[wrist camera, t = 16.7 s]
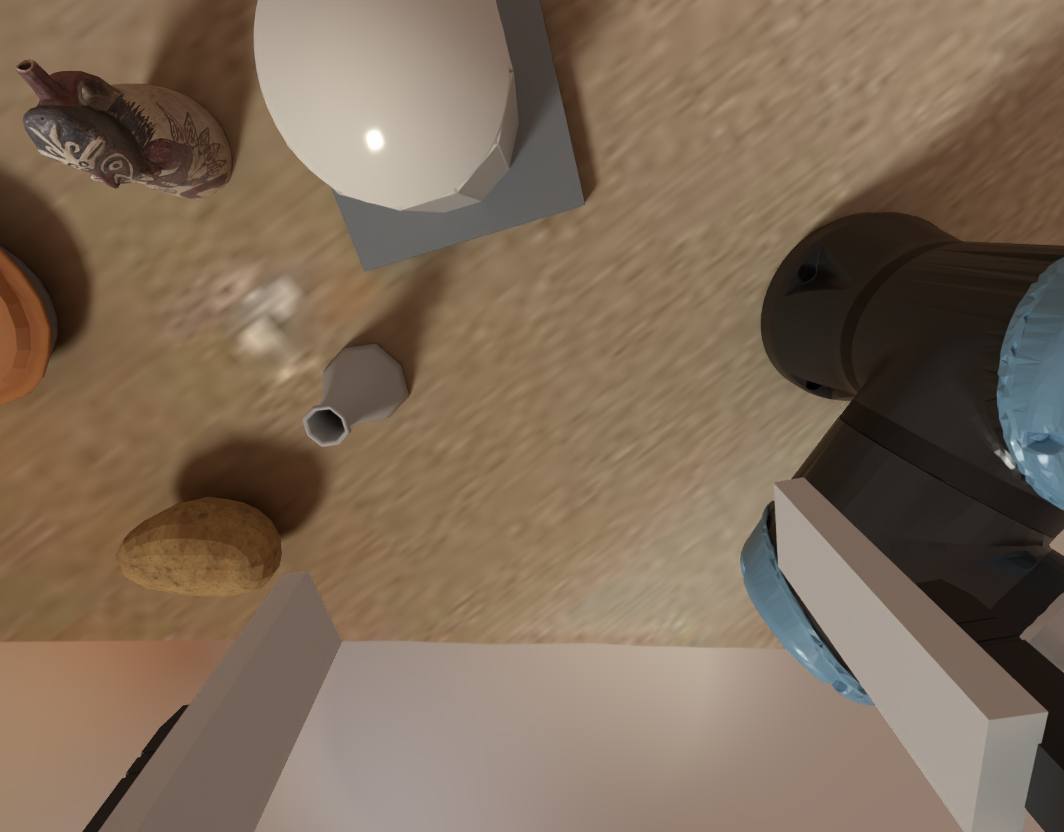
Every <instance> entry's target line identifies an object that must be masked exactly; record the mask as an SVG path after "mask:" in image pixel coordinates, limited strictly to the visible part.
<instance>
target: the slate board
mask: <svg viewBox="0 0 1064 832" xmlns="http://www.w3.org/2000/svg"><path fill="white" fill-rule="evenodd" d="M496 4H497V8H498V12H499V16H500V20H501V23H502V26H503V30H504V36H505V40H506V44H507V48H508V52H509V56H510V60H511V64H512V68H513V70H514V80H515V90H516V101H517V111H518V121H519V125H518V129H517V134H516V139H515V144H514V148H513V153H512V158H511V162H510V167H509V170H508V171H507V172H506V174H505V175H504V176H503V177H502V178H501V179H500V181H499V182H498V183H497V184H496V185H495V186H494V188H493V189H492V190H491V191H490V192H489V193H488V195H487V196H486V197H485V198H484V199H483V200H482V201H481V202H478V203H474V204H471V205H468V206H465V207H461V208H458V209H455V210H452V211H448V212H445V213H432V212H410V211H399V210H396V209H392V208H388V207H384V206H381V205H377V204H373V203H368V202H364V201H361V200H358V199H355V198H351V197H347V196H343V195H339V194H338V193H337V192H336V191H335V190H334V189H333V188H332V187H331V188H332V191H333V193H334V196H335V198H336V201H337V203H338V206H339V208H340V211H341V213H342V216H343V218H344V221H345V223H346V226H347V229H348V231H349V234H350V236H351V239H352V241H353V244H354V246H355V249H356V251H357V254H358V256H359V259H360V262H361V264H362V267H363V269H364V272H365V271H368V270H372V269H375V268H378V267H382V266H385V265H388V264H391V263H395V262H398V261H401V260H405V259H408V258H411V257H415V256H418V255H421V254H425V253H428V252H431V251H434V250H438V249H441V248H444V247H448V246H451V245H454V244H458V243H461V242H464V241H468V240H471V239H474V238H477V237H481V236H484V235H487V234H491V233H494V232H497V231H501V230H504V229H507V228H511V227H514V226H517V225H520V224H524V223H527V222H530V221H534V220H537V219H540V218H544V217H547V216H550V215H554V214H557V213H560V212H563V211H567V210H570V209H573V208H577V207H580V206H583V205H585V202H584V198H583V193H582V189H581V184H580V180H579V175H578V171H577V166H576V162H575V157H574V153H573V148H572V143H571V139H570V134H569V130H568V125H567V121H566V116H565V112H564V107H563V103H562V98H561V94H560V89H559V85H558V80H557V76H556V71H555V67H554V62H553V58H552V53H551V48H550V44H549V39H548V35H547V30H546V26H545V21H544V17H543V12H542V8H541V3H540V0H496Z"/></svg>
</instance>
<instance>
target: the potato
mask: <svg viewBox="0 0 1064 832" xmlns="http://www.w3.org/2000/svg"><path fill="white" fill-rule="evenodd" d="M281 555H282V552H281V539H280V536H279V534H278V532H277V530H276V528H275V526H274V524H273V522H272V521H271V520H270V519H269V518H268V517H267V516H265V515H264V514H263V513H262V512H261V511H260V510H258V509H256V508H254V507H252V506H250V505H248V504H245V503H243V502H239V501H234V500H229V499H224V498H215V497H204V498H200V499H196V500H191V501H187V502H183V503H178V504H176V505H174V506H172V507H170V508H168V509H166V510H164V511H162V512H160V513H158V514H157V515H155V516H153V517H151V518H149V519H147V520H145V521H144V522H142V523H141V524H140V525H138V526H137V527H136V528H135V529H133V530H132V531H131V532H130V533H129V534H128V535H127V536H126V537H125V538H124V540H123V542H122V544H121V546H120V548H119V550H118V552H117V554H116V557H117V560H118V562H119V565H120V567H121V569H122V571H123V573H124V575H125V577H127V578H128V579H130V580H132V581H134V582H136V583H138V584H140V585H142V586H144V587H146V588H150V589H155V590H161V591H166V592H172V593H178V594H184V595H193V596H202V597H204V596H233V595H237V594H241V593H245V592H249V591H252V590H255V589H258V588H262V587H263V586H264V585H265V584H266V583H267V582H268V581H269V580H270V578H271V577H272V576H273V574H274V573H275V572H276V570H277V569H278V568H279V565H280V560H281Z"/></svg>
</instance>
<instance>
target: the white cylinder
mask: <svg viewBox="0 0 1064 832" xmlns="http://www.w3.org/2000/svg"><path fill="white" fill-rule="evenodd" d="M254 54H255V62H256V69H257V74H258V78H259V83H260V87H261V91H262V93H263V96H264V99H265V102H266V105H267V108H268V110H269V112H270V114H271V116H272V118H273V120H274V122H275V125H276V127H277V128H278V130H279V131H280V133H281V135H282V136H283V138H284V140H285V141H286V143H287V146H288V147H289V148H290V149H291V150H292V151H293V152H294V153H295V154H296V156H297V157H298V158H299V159H300V160H301V161H302V162H303V163H304V164H305V165H306V166H307V167H308V168H309V170H311V171H312V172H313V173H314V174H315V175H317V176H318V177H319V178H320V179H321V180H323V181H324V182H326V183H327V184H329V185H330V186H331V187H332V188H333V189H334V190H335V191H336V192H337V193H338V194H339V195H343V196H347V197H351V198H355V199H358V200H361V201H364V202H368V203H373V204H377V205H381V206H384V207H388V208H392V209H396V210H399V211H410V212H432V213H445V212H448V211H452V210H455V209H458V208H461V207H465V206H468V205H471V204H474V203H478V202H481V201H482V200H483V199H484V198H485V197H486V196H487V195H488V193H489V192H490V191H491V190H492V189H493V188H494V186H495V185H496V184H497V183H498V182H499V181H500V179H501V178H502V177H503V176H504V175H505V174H506V172H507V171H508V170H509V167H510V162H511V158H512V153H513V148H514V144H515V139H516V134H517V129H518V125H519V121H518V111H517V101H516V90H515V80H514V70H513V68H512V64H511V60H510V56H509V52H508V48H507V44H506V40H505V36H504V30H503V26H502V23H501V20H500V16H499V12H498V8H497V4H496V0H258V3H257V8H256V13H255V23H254Z"/></svg>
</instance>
